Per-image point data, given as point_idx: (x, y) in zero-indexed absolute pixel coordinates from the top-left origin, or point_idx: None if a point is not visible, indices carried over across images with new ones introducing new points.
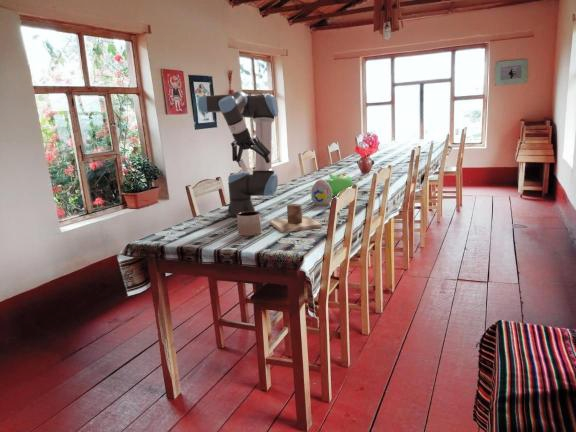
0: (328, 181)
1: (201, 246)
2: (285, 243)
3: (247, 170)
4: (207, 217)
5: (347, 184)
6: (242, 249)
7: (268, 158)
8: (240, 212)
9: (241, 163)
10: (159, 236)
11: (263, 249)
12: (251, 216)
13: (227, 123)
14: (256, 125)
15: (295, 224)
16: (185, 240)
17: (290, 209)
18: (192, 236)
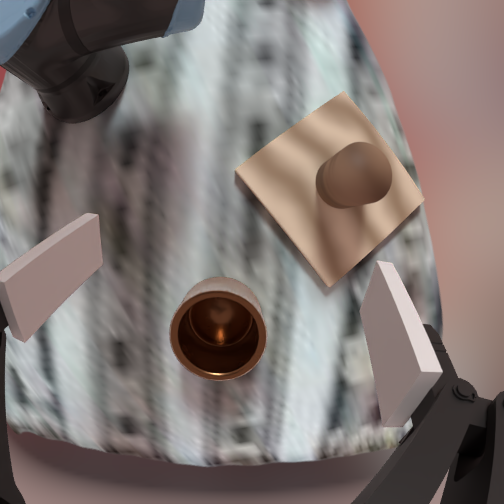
0: None
1: (155, 445)
2: (366, 383)
3: (96, 219)
4: (4, 150)
5: None
6: (273, 448)
7: (445, 363)
8: (173, 326)
9: (38, 312)
10: (6, 370)
11: (326, 436)
12: (249, 370)
13: None
14: None
15: (352, 214)
16: (80, 403)
17: (355, 203)
18: (70, 368)
